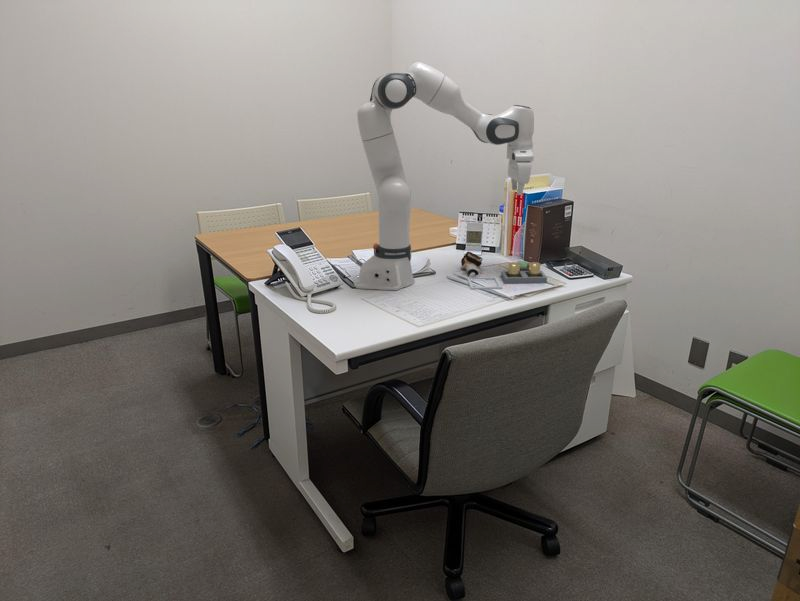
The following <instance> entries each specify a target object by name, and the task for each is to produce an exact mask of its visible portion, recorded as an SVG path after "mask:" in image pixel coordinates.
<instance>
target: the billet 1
mask: <svg viewBox="0 0 800 601" xmlns="http://www.w3.org/2000/svg"><path fill="white" fill-rule="evenodd" d="M519 269H520V264H519V263H517V262H514V261H513V262H512V261H511V262H508V267H507V271H508V277H519Z"/></svg>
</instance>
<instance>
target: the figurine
mask: <svg viewBox="0 0 800 601" xmlns="http://www.w3.org/2000/svg"><path fill="white" fill-rule="evenodd" d="M482 261H483V257H481V256H480V255H477V254H475V253H473V252H471V251H466V253H464V255H463V257H462V259H461V260H460V263H461V268H462V269H464V270H466V272H467V273H468V278H471V277H481V275H484V272H482V270H481V269H480V267H481V265H482ZM479 273H480V275H479Z"/></svg>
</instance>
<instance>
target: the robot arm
mask: <svg viewBox="0 0 800 601" xmlns="http://www.w3.org/2000/svg"><path fill="white" fill-rule="evenodd" d="M369 98H370V99H369V101H368V102H366V103H363V104H362V105H361V106H360V107H359V108H358V110H357V113H356V114H357V123H358V129H359V134H360V138H361V141H362V144H363V145H362V146H363V148H364V152H365V156H366V159H367V162H368V166H369V169H370V171H371V175H372V178H373V181H374V185H375V189H376V191H377V196H378V243H379V244H378V243H374V244H373V245H372V249H373V255H372V256H371V257H370V258H368V259H367V260H365V261H364V262H363V263H362V265H361V266H360V268H359V273H358V275H357V276H359V277H356V276H355V277H354V278H353V286H354V288H356V289H360V290H361V289H363V290H380V291H399V290H400V289H402V288H406V287H410V286H412V285H414V283H415V279H414V274H413V270H412V264H411V259H412V246H411V243H410V242H411V240H410V236H411V235H410V229H411V228H410V224H411V223H410V221H411V207H412V206H411V205H412V204H411V202H412V201H411V200H412V198H411V197H412V192H411V188H410V186H409V184H408V182H407V178H406V176H405V171H404V168H403V161H402V159H401V155H400V151H399V147H398V143H397V139H396V137H395V136H396V135H395V132H394V129H393V128H394V127H393V125H392V122H391V114H392V111H393V110H397V109H401V108H403V107H404V106H405V105H407V104H408V103H409V102H410V100H412V98H415V99H417V100H419V101H421V102H422V103H423V104H425V105H426V106H428V107H430V108H432V109H433V110H436V111H438V112H440V113H442V114H446V115H450V116H452V117H454V118H456V119H457V120H459V121H460V122H461V123H463V124H464V125H466V126H467V127H469V128H470V129H471V130H472V132H473V133H474V135H475V137H476V138H477V140H478V141H480V142H481V143H485V144H489V145H490V144H491V145H496V146H499V145H504V144H506V145H507V146H506V159H508V166H507V167H508V168H507V176H508V177H509V178H510V180H511V181H510V182H511V190H512V191H516V194H517V195H518V196H523V194H524V188H525V184H528V183H529V182H530V179H531V172H532V162H533V161H534V158H535V157H534V153H533V147H534V143H533V135H534V131H535V130H534V128H535V115H534V114H535V113H534V110H533V109H532V108H531V107H530V106H526V105H519V104H513V105H511V106H510V107H509V108H507V110H505V111H503V112H501V113H498V114H497V115H495V114H490V113H484V112H481V111H480V110H479V109H477V108H476V107H474V106H472V105H471V104H469V102H467V101H465V100H464V98H463V97H462V94H461V89H460V87H459V85H458V84H457V83H455V81H454V80H453V79H452V78H450V76H447V75H446V74H444V73H443V72H441V71H440V70H438V69H436V68H435V67H433V66H430V65H429V64H427V63H424V62H420V61H417V62H414V63H412V64H411V65H409V67H408V68H407V70H406V71H405V72H404V73H403V72H402V73H401V72H400V73H399V72H393V73H392V72H388V73H385V74H382V75H381V76H379V77H378V78H376V80H375V81H374V83H373V85H372V88H371V93H370V97H369Z"/></svg>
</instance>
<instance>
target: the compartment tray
mask: <svg viewBox="0 0 800 601" xmlns="http://www.w3.org/2000/svg"><path fill="white" fill-rule="evenodd" d="M528 273H529V271H519V277H508V270H501V271H500V275H499V278H500V280H501V281H502V283H503V285H518V284H519V285H524V284H525V285H529V284H530V285H533V284H534V285H535V284H539V285H540V284H549V282H548V276H547V275H546V274H545V273H544V272H543V270H540V277H528Z"/></svg>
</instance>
